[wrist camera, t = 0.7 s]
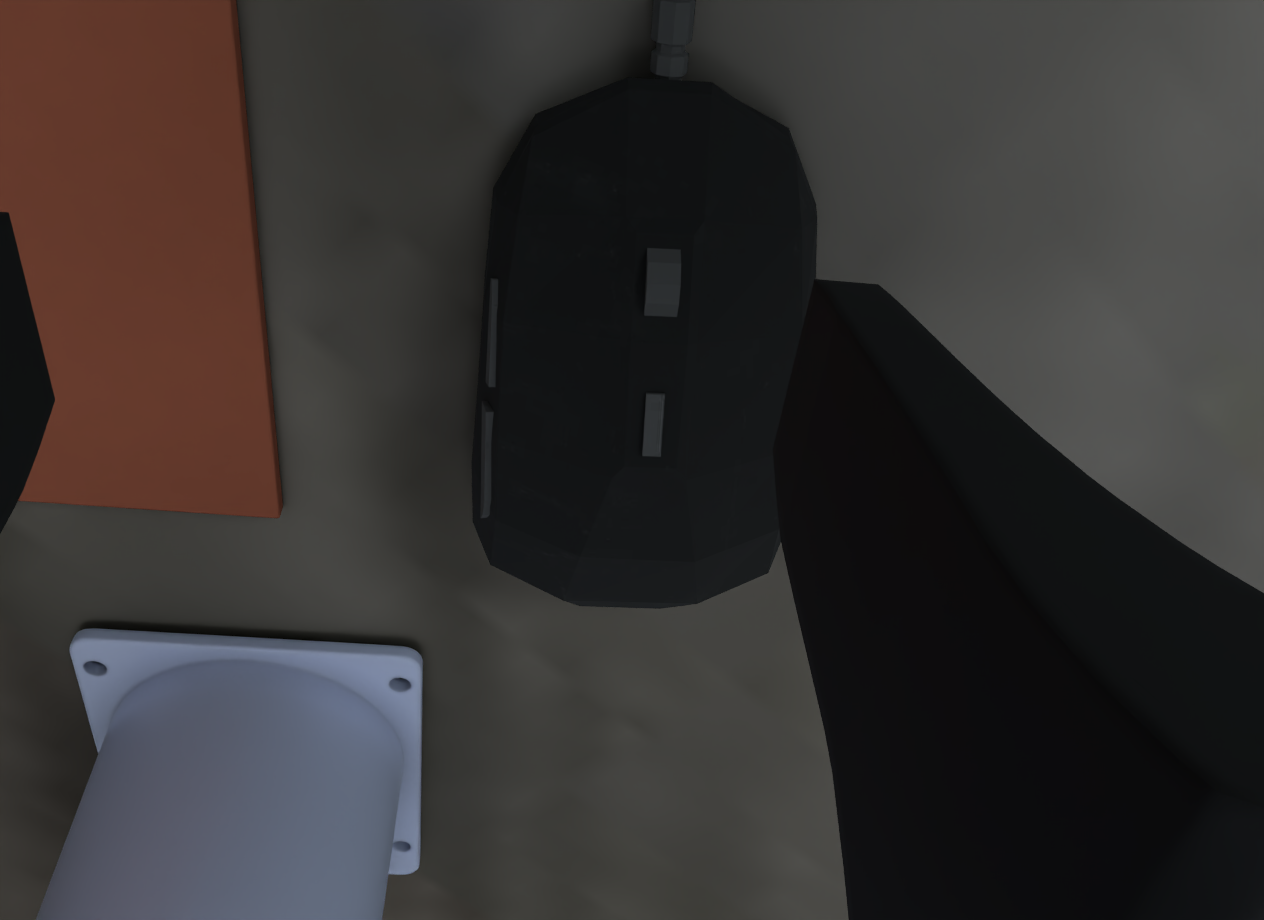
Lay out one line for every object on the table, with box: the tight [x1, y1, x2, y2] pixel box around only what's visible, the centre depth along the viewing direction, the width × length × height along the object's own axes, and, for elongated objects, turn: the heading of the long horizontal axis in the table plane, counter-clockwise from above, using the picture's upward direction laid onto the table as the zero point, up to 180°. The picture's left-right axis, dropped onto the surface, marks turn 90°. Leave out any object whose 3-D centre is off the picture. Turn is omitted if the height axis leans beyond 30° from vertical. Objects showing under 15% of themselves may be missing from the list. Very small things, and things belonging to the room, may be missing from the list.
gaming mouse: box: [472, 0, 817, 608], centre depth 20 cm, size 6×15×4 cm, turn 176°
